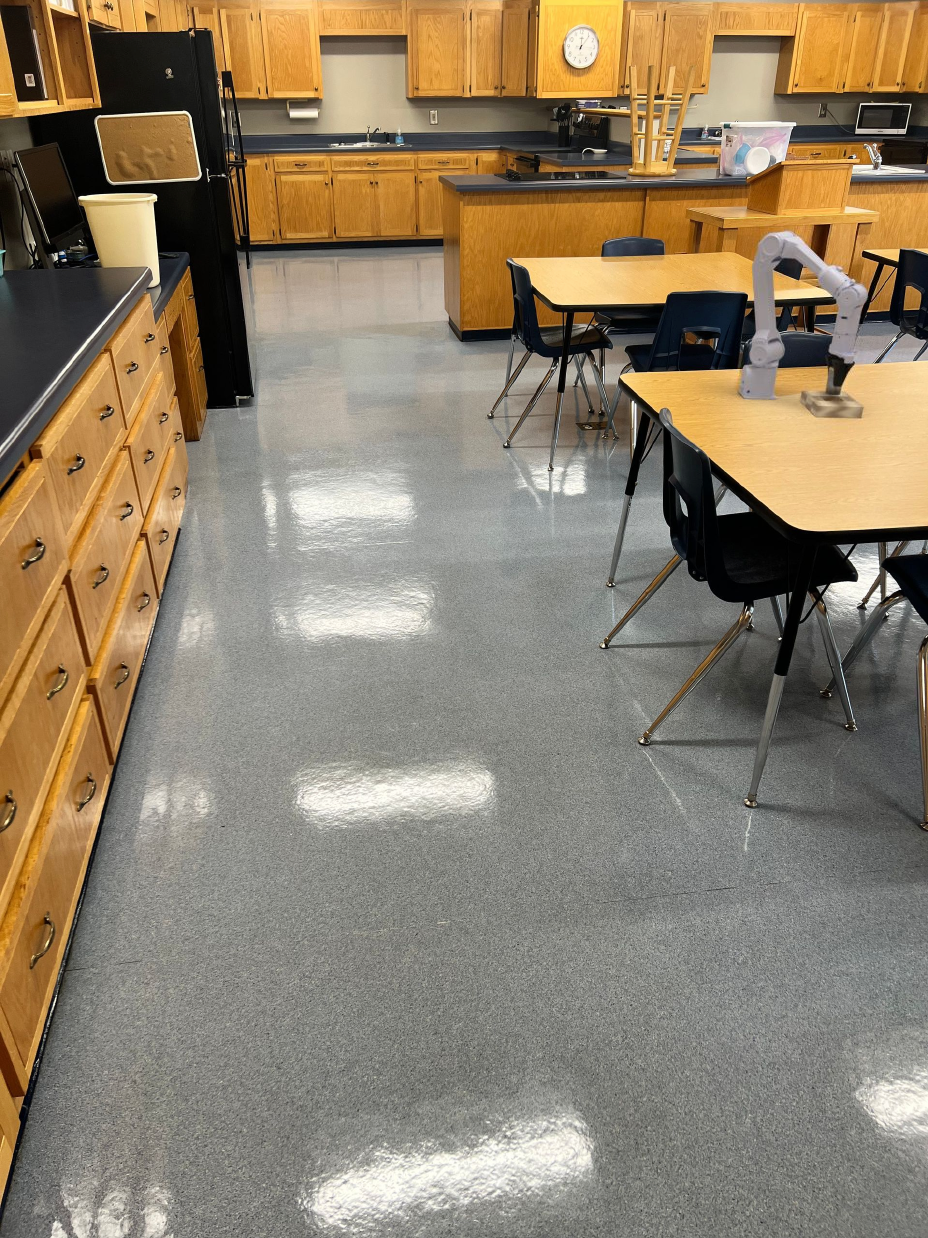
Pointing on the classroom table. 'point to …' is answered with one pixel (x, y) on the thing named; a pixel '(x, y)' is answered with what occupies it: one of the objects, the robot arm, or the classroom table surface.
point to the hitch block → (831, 404)
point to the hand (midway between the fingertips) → (834, 384)
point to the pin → (829, 386)
